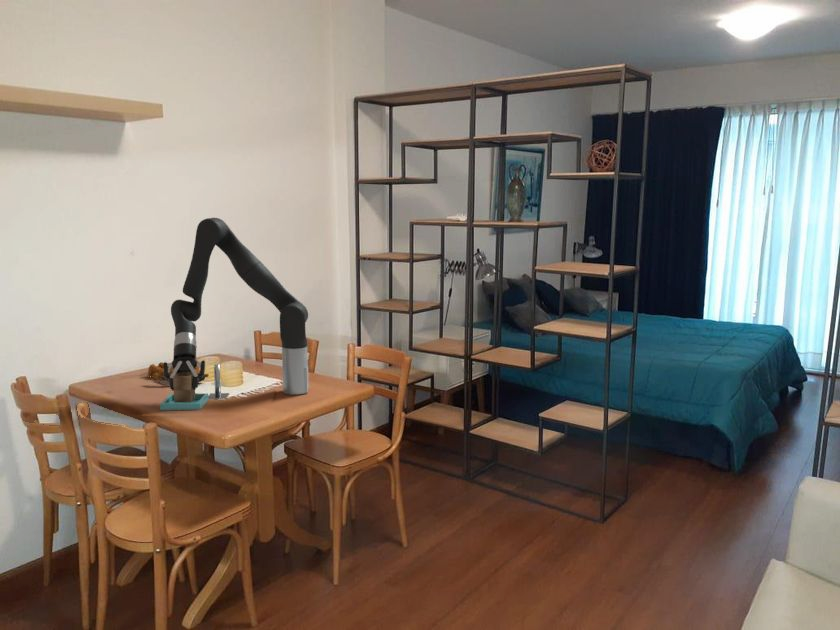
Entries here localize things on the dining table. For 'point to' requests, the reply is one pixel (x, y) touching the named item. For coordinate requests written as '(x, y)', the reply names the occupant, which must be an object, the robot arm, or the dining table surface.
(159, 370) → the toy
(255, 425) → the dining table surface
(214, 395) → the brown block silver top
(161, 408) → the tray
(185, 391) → the sleeve
